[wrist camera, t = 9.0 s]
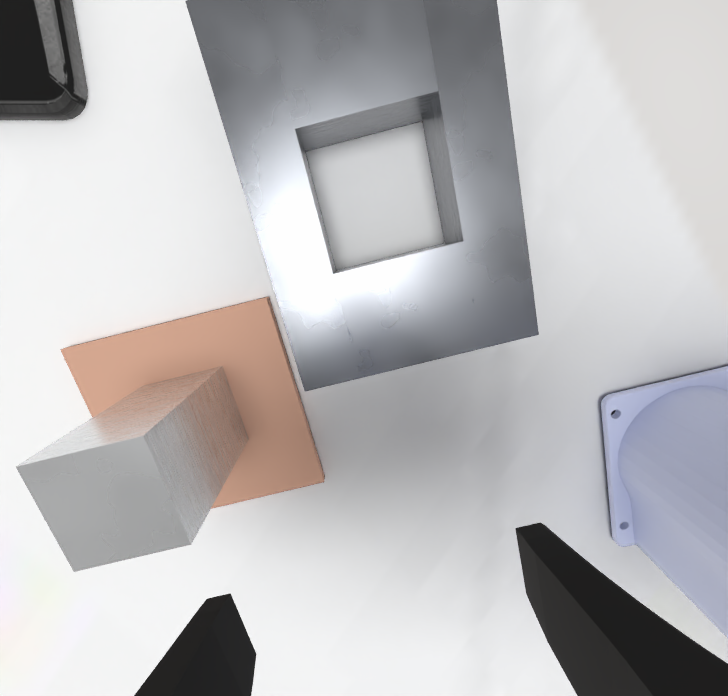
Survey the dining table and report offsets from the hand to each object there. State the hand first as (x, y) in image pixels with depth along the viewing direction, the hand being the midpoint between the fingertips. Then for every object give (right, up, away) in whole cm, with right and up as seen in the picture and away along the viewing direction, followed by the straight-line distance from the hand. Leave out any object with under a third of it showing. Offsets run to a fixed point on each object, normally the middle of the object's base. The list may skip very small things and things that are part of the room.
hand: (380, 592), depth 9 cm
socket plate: (0, +13, +7) cm, 15 cm away
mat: (-9, +3, +10) cm, 13 cm away
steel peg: (-9, +3, +9) cm, 13 cm away
